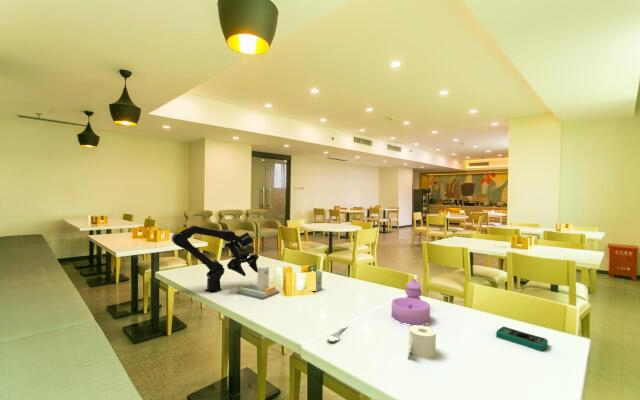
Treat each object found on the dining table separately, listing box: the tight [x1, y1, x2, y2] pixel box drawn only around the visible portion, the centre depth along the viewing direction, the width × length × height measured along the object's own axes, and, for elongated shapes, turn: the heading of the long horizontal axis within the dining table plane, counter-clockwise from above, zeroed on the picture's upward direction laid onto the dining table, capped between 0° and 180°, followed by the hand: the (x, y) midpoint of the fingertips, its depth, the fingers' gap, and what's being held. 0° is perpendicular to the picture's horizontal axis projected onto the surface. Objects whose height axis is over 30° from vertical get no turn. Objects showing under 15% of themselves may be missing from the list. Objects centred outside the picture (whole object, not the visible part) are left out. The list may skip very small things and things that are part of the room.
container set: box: [391, 278, 431, 326], centre depth 133 cm, size 25×15×13 cm, turn 158°
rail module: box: [257, 265, 270, 292], centre depth 158 cm, size 4×4×13 cm
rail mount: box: [235, 283, 280, 301], centre depth 160 cm, size 18×13×4 cm
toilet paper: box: [406, 325, 437, 359], centre depth 100 cm, size 8×11×7 cm
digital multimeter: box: [495, 326, 549, 352], centre depth 109 cm, size 7×15×3 cm, turn 42°
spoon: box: [326, 327, 346, 343], centre depth 114 cm, size 4×21×2 cm, turn 155°
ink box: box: [308, 264, 323, 292], centre depth 166 cm, size 7×4×13 cm, turn 143°
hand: (251, 273), depth 162 cm, fingers open, 9 cm apart
